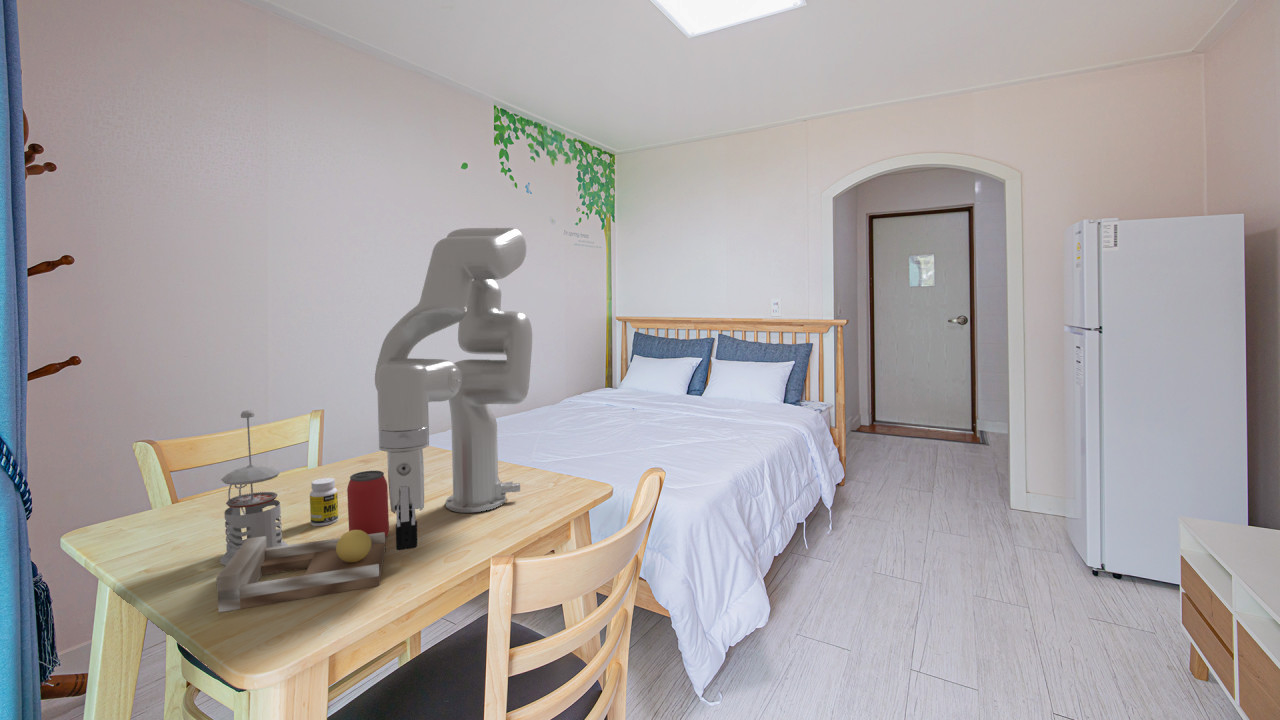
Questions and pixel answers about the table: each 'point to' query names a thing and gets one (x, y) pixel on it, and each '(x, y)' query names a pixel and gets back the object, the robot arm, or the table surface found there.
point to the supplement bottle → (323, 502)
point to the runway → (320, 578)
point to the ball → (353, 546)
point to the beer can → (368, 502)
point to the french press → (251, 507)
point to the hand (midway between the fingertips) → (406, 547)
